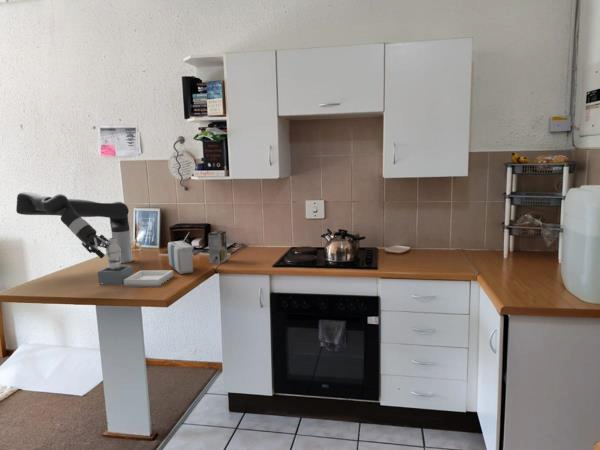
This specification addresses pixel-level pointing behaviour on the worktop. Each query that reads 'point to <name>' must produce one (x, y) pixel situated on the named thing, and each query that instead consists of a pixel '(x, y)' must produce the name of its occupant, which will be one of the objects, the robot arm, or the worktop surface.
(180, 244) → the stereo radio cassette player
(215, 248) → the coffee box
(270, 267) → the worktop surface
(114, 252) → the plastic bottle
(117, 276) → the grey open box
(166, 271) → the tray
